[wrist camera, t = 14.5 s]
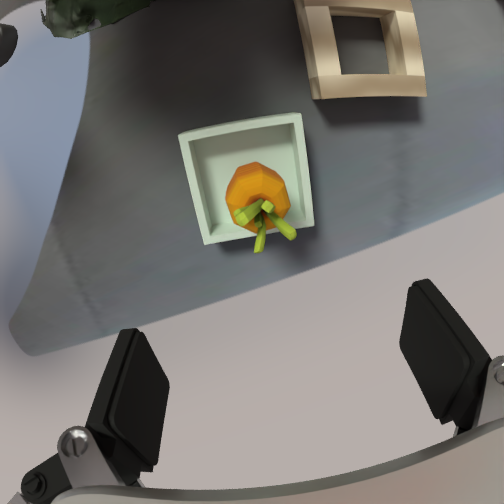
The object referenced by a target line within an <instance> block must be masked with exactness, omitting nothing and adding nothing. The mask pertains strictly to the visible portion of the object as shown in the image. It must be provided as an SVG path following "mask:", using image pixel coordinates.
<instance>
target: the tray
mask: <svg viewBox="0 0 504 504" xmlns="http://www.w3.org/2000/svg"><path fill="white" fill-rule="evenodd" d="M178 138H179V142H180V147H181V151H182V155H183V160H184V164H185V168H186V173H187V177H188V181H189V185H190V190H191V194H192V198H193V202H194V206H195V210H196V214H197V218H198V222H199V226H200V230H201V234H202V238H203V242H204V245H206V244H212V243H217V242H223V241H228V240H234V239H240V238H246V237H251V236H257V234H255V233H253V232H251V231H249V230H247V229H244V228H242V227H240V226H238V225H236V224H234V223H233V220H232V218H231V215H230V212H229V209H228V206H227V204H226V201H225V196H226V190H227V186H228V184H229V182H230V181H231V179H232V177H233V175H234V173H235V171H236V169H237V168H238V167H239V166H242V165H245V164H249V163H252V162H259V163H260V164H262V165H264V166H266V167H268V168H270V169H272V170H274V171H276V172H277V173H278V174H279V175H280V176H281V178H282V179H283V180H284V182H285V186H286V189H287V193H288V197H289V200H290V204H291V207H290V208H289V210H288V212H287V213H286V215H285V217H284V218H283V220H284V221H285V222H287V223H288V224H289V225H290V226H292V227H293V228H294V229H298V228H304V227H310V226H314V216H313V206H312V196H311V187H310V178H309V169H308V161H307V153H306V145H305V138H304V130H303V123H302V116H301V113H296V112H290V113H282V114H275V115H268V116H261V117H255V118H249V119H243V120H237V121H232V122H226V123H221V124H216V125H211V126H206V127H202V128H197V129H193V130H188V131H184V132H183V133H181V134H179V135H178ZM275 232H280V231H279V230H278V229H277V227H276V228H273V229H270V230H267V231H266V234H269V233H275Z"/></svg>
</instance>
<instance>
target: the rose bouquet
mask: <svg viewBox="0 0 504 504" xmlns="http://www.w3.org/2000/svg"><path fill="white" fill-rule="evenodd" d="M150 1H155V0H46V16H44V14H43V12H42V10H41V13H42V14H41V16H42V20H43V21H42V22H43V24H44V25H45V26H46V27H47V28H49V29H50V30H51V32H52V34H53V36H54V37H64V38H70V39H72V38H74V37H77V36H79V35H81V34H84V33H86V32H89V31H92V30H88V26H89V24H90V23H91V22H92V21H93V19H94V18H96V19H99V21H100V23H101V26H100V27H103V26H105V25H108V24H110V23H111V24H113V23H115V22H116V21H118V20H120V19H122V18H123V17H125V16H127V15H129V14H131V13H133V12H135V11H138V10H140V9H142V8H145V7H149V4H150ZM45 18H46V19H45ZM100 27H98V28H100ZM95 29H97V28H95ZM93 30H94V29H93Z"/></svg>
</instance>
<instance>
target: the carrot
mask: <svg viewBox="0 0 504 504" xmlns="http://www.w3.org/2000/svg"><path fill="white" fill-rule="evenodd" d="M225 201H226V204H227V206H228V209H229V212H230V215H231V218H232V220H233V223H234V224H236V225H238V226H240V227H242V228H244V229H247V230H249V231H251V232H253V233H255V234H257V237H256V242H255V247H254V253H260V252H262V251H263V249H264V245H265V238H266V231H267V230H270V229H273V228H276V227H277V229H278V230H279V231H280V232H281V233H282V234H283V235H284V236H285V237H286V238H288V239H289V240H293V239H294V238H295V237H296V235H297V233H296V230H295V229H294V228H293V227H292V226H290V225H289V224H288V223H287V222H285V221H284V220H283V218H284V217H285V215H286V213H287V212H288V210H289V208H290V207H291V204H290V200H289V197H288V193H287V189H286V186H285V182H284V180H283V179H282V178H281V176H280V175H279V174H278V173H277V172H276V171H274V170H272V169H270V168H268V167H266V166H264V165H262V164H260V163H259V162H252V163H249V164H245V165H242V166H239V167H238V168H237V169H236V171H235V173H234V175H233V177H232V179H231V181H230V182H229V184H228V186H227V190H226V196H225Z"/></svg>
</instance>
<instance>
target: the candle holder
mask: <svg viewBox="0 0 504 504" xmlns="http://www.w3.org/2000/svg"><path fill="white" fill-rule="evenodd" d="M17 40H18V35H17V30H16V28H15V27H14V26H11V25H6V24H0V67H1V66H3V65H4V64H5V63H7V62H8V60H9V59H10V58H11V56H12V55H13V53H14V50H15V48H16V45H17Z"/></svg>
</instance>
